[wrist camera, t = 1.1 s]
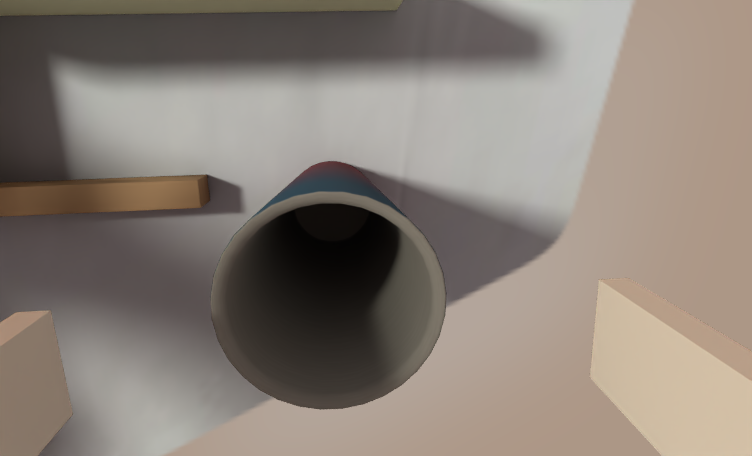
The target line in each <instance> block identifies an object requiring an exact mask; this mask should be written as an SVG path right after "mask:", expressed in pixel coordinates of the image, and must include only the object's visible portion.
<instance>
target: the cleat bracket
mask: <svg viewBox="0 0 752 456" xmlns="http://www.w3.org/2000/svg"><path fill="white" fill-rule="evenodd" d="M209 201H210V196H209V187H208V179H207V175H186V176H160V177H134V178H108V179H82V180H57V181H31V182H5V183H0V217H2V216H25V215H47V214H70V213H93V212H116V211H139V210H162V209H185V208H201V207H202V206H204V205H205V204H206V203H208V202H209Z"/></svg>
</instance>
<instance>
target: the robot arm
mask: <svg viewBox="0 0 752 456" xmlns="http://www.w3.org/2000/svg"><path fill="white" fill-rule="evenodd" d="M590 379H591V380H592V381H593V382H594V383H595V384H596V385H597V386H598V387H599V388H600V389H601V390H602V391H603V393H604V394H605V395H606V396H607V397H608V398H609V399H610V400H611V401H612V402H613V403H614V404H615V406H616V407H617V408H618V409H619V410H620V411H621V412H622V413H623V414H624V415H625V416H626V417H627V419H628V420H629V421H630V422H631V423H632V424H633V425H634V426H635V427H636V428H637V429H638V430H639V432H640V433H641V434H642V435H643V436H644V437H645V438H646V439H647V440H648V441H649V442H650V443H651V444H652V446H653V447H655V449H656V450H657V451H658V452H659V453H660V454H661V455H662V456H752V351H751V350H749V349H747V348H746V347H744V346H742V345H741V344H739V343H737V342H736V341H734V340H732V339H731V338H729V337H727V336H725V335H724V334H722V333H720V332H719V331H717V330H715V329H713V328H712V327H710V326H709V325H707V324H705V323H704V322H701V321H700V320H698V319H697V318H695V317H693V316H692V315H690V314H688V313H687V312H685V311H683V310H682V309H680V308H678V307H677V306H675V305H673V304H672V303H670V302H668V301H666V300H665V299H663V298H661V297H660V296H658V295H656V294H655V293H653V292H651V291H649V290H648V289H646V288H645V287H643V286H641V285H639V284H638V283H636V282H634V281H632V280H631V279H629V278H617V279H601V280H600V279H599V284H598V295H597V305H596V317H595V327H594V338H593V348H592V360H591V370H590ZM72 415H73V412H72V408H71V403H70V398H69V393H68V389H67V384H66V379H65V375H64V370H63V365H62V361H61V356H60V351H59V347H58V342H57V337H56V333H55V328H54V323H53V319H52V314H51V310H48V311H30V312H16V313H14V314H13V315H11V316H10V317H8V318H6V319H5V320H3V321H2V322H0V456H38V455H39V453H40V452H41V451H42V450H43V449H44V448H45V446H46V445H47V444H48V443H49V442H50V441H51V439H52V438H53V437H54V436H55V435H56V434H57V432H58V431H59V430H60V429H61V428H62V427H63V425H64V424H65V423H66V422H67V421H68V420H69V418H70V417H71V416H72Z"/></svg>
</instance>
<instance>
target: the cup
mask: <svg viewBox="0 0 752 456" xmlns="http://www.w3.org/2000/svg"><path fill="white" fill-rule="evenodd" d="M210 300H211V314H212V321H213V325H214V328H215V332H216V335H217V338H218V341H219V343H220V345H221V347H222V349H223V350H224V352H225V354H226V356H227V358H228V360H229V361H230V362H231V363H232V364H233V366H234V367H235V368H236V369H237V370H238V371H239V373H240V374H241V375H242V376H243V377H244V378H245V379H247V380H248V381H249V382H250V383H252V384H253V385H254V386H255V387H257V388H258V389H259V390H261V391H263V392H265V393H267V394H268V395H270V396H272V397H274V398H276V399H278V400H281V401H284V402H287V403H290V404H293V405H296V406H300V407H308V408H314V409H343V408H347V407H352V406H357V405H361V404H365V403H368V402H370V401H373V400H375V399H378V398H380V397H383V396H384V395H386V394H388V393H389V392H391V391H393V390H394V389H396V388H398V387H399V386H401V385H402V384H403V383H404V382H406V381H407V380H408V379H409V378H410V377H411V376H412V375H413V374H414V373H416V372H417V371H418V369H419V368H420V367H421V366H422V364H423V363H424V362H425V360H426V359H427V358H428V356H429V355H430V353H431V352H432V350H433V348H434V346H435V343H436V342H437V340H438V338H439V335H440V332H441V328H442V325H443V321H444V317H445V309H446V288H445V281H444V275H443V271H442V268H441V266H440V263H439V260H438V258H437V255H436V253H435V251H434V249H433V248H432V246H431V245H430V243H429V242H428V240H427V239H426V237H425V235H424V234H423V233H422V232H421V231H420V230H419V229H418V228H417V227H416V226H415V225H414V224H413V223H412V222H411V221H410V220H409V219H408V218H407V217H406V216H405V215H404V214H403V213H402V212H401V211H400V210H399V209H398V208H397V207H396V206H395V205H394V204H393V203H392V202H391V201H390V200H389V199H388V198H387V197H386V196H385V195H384V194H383V193H382V192H380V191H379V190H378V189H377V188H376V187H375V186H374V185H373V184H372V183H371V182H370V181H369V180H368V179H367V178H366V177H365V176H364V175H363V174H362V173H361V172H360V171H358V170H357V169H356V168H354V167H353V166H350V165H348V164H346V163H341V162H337V161H327V162H322V163H318V164H316V165H313V166H311V167H310V168H308V169H307V170H305V171H304V172H303V173H301V174H300V175H299V176H298V177H297V178H296V179H295V180H294V181H292V182H291V183H290V184H289V185H288V186H287V187H286V188H285V189H283V190H282V191H281V192H280V193H279V194H278V195H277V196H275V197H274V198H273V199H272V200H271V201H270V202H269V203H268V204H266V205H265V206H264V207H263V208H262V209H261V210H260V211H259V212H257V213H256V214H255V215H254V216H253V217H252V218H251V219H250V220H249V221H248V222H247V223H246V224H245V225H244V226H243V227H242V228H241V229H240V230H239V231H238V232H237V233H236V234H235V235H234V236H233V238H232V239H231V241H230V242H229V244H228V245H227V247H226V248H225V250H224V251H223V253H222V255H221V257H220V260H219V263H218V265H217V268H216V270H215V273H214V276H213V283H212V289H211V296H210Z"/></svg>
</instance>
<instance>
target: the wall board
mask: <svg viewBox="0 0 752 456" xmlns="http://www.w3.org/2000/svg"><path fill="white" fill-rule="evenodd" d="M402 2H403V0H0V16H23V15H95V14H168V13H240V12H312V11H385V10H397V9H398V8H399V6H400V5H401V3H402Z"/></svg>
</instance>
